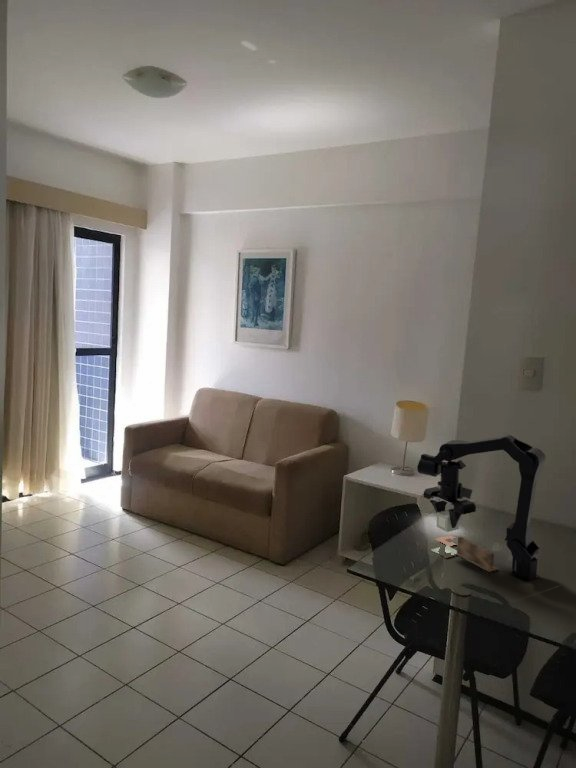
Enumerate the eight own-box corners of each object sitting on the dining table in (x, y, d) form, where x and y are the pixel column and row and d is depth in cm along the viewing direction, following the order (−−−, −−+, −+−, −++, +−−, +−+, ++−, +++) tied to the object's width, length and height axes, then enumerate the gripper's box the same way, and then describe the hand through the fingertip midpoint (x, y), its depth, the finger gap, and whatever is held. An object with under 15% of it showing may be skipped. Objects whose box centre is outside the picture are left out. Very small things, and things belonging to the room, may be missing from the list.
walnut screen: (498, 570, 179) (499, 552, 178) (488, 573, 177) (489, 554, 176) (465, 552, 191) (466, 535, 190) (456, 555, 189) (457, 537, 188)
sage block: (458, 529, 189) (459, 514, 188) (446, 532, 186) (447, 517, 186) (447, 523, 193) (448, 509, 192) (436, 526, 191) (436, 512, 190)
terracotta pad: (464, 543, 198) (464, 542, 198) (449, 547, 195) (449, 546, 195) (450, 535, 204) (450, 534, 204) (435, 539, 201) (435, 538, 201)
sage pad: (462, 554, 190) (462, 553, 190) (445, 559, 187) (445, 557, 187) (447, 546, 196) (447, 545, 196) (431, 550, 193) (431, 549, 193)
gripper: (489, 483, 183) (487, 530, 185) (448, 468, 199) (446, 511, 202) (463, 489, 178) (461, 537, 180) (423, 473, 194) (421, 517, 196)
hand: (447, 524), depth 190 cm, fingers closed on sage block, 5 cm apart
